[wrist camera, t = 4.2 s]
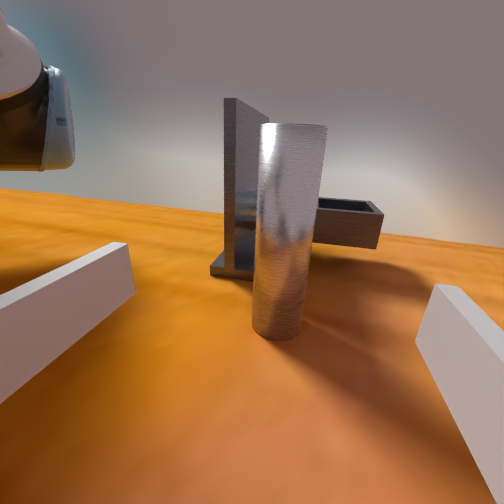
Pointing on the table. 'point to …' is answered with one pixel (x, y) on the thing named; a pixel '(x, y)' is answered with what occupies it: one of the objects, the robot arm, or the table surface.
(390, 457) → the table surface
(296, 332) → the rail post
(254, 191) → the cup bracket
